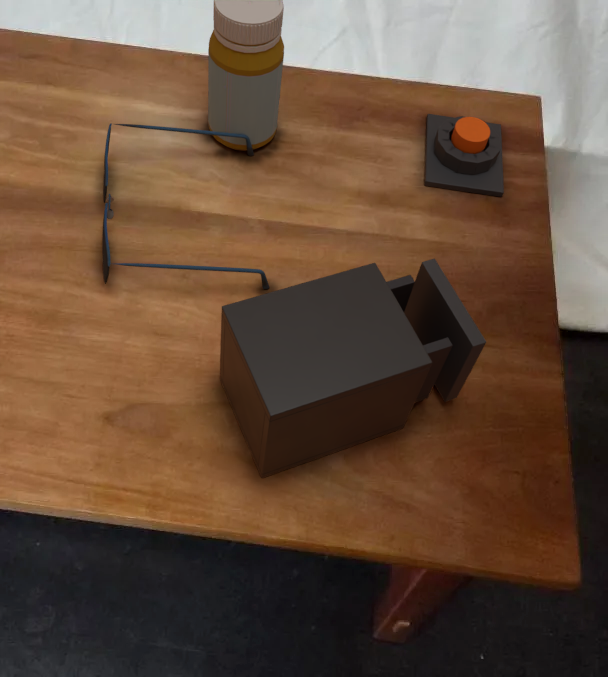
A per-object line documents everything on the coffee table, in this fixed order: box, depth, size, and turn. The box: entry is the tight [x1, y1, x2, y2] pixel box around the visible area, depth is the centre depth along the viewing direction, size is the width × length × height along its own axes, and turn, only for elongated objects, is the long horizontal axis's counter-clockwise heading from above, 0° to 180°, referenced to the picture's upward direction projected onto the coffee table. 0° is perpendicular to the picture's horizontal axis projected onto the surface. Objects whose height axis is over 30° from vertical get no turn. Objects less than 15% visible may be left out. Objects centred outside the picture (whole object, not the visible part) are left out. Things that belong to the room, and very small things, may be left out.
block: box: [423, 113, 505, 198], centre depth 85 cm, size 10×8×2 cm
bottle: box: [207, 0, 285, 152], centre depth 79 cm, size 7×7×15 cm
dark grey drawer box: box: [219, 262, 432, 479], centre depth 64 cm, size 13×10×11 cm
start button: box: [451, 116, 490, 154], centre depth 84 cm, size 4×4×2 cm
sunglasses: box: [101, 123, 270, 290], centre depth 76 cm, size 17×15×5 cm
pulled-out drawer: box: [386, 258, 487, 403], centre depth 66 cm, size 13×8×9 cm, turn 113°
